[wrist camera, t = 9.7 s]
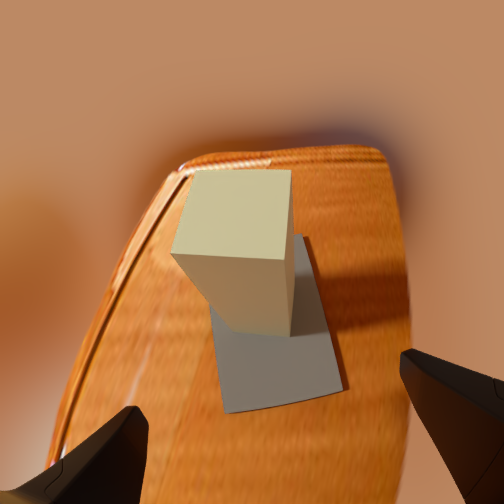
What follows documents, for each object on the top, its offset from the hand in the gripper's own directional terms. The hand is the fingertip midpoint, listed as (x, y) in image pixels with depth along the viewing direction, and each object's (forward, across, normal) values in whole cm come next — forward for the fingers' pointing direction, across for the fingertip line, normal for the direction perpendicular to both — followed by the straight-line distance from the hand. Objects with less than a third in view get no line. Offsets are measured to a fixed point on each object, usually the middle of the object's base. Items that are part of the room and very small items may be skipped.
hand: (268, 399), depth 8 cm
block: (+14, 0, +4) cm, 15 cm away
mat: (+14, 0, +5) cm, 15 cm away
